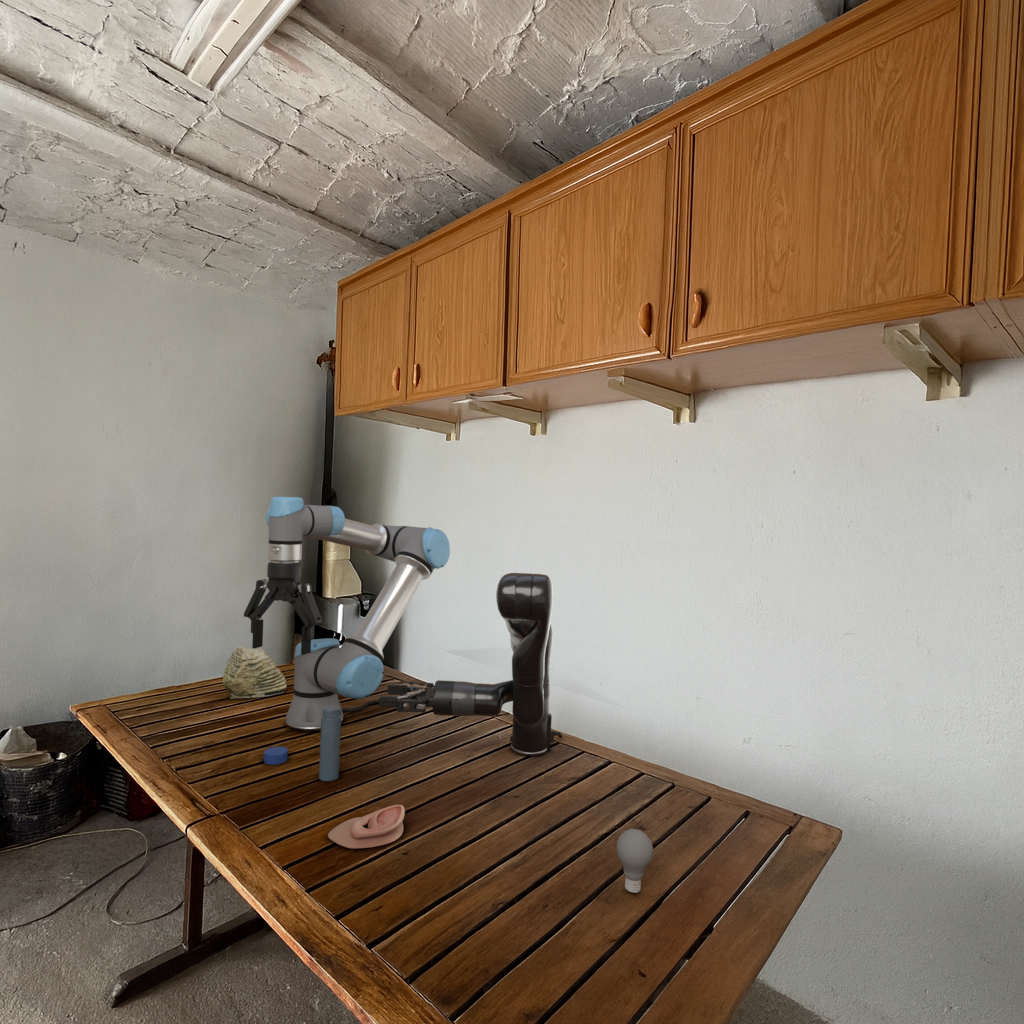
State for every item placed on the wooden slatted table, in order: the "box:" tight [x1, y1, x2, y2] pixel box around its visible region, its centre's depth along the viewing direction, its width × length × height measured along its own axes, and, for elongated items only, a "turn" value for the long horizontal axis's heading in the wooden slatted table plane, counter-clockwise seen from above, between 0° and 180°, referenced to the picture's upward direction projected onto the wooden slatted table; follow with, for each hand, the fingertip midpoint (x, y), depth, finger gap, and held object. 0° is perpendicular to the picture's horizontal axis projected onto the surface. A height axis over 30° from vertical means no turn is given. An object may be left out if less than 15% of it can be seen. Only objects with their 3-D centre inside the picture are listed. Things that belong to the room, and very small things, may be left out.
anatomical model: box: [327, 804, 406, 849], centre depth 120 cm, size 13×4×12 cm
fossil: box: [222, 646, 288, 699], centre depth 198 cm, size 9×18×15 cm, turn 132°
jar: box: [318, 705, 342, 782], centre depth 143 cm, size 4×4×16 cm
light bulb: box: [615, 828, 654, 894], centre depth 106 cm, size 6×6×10 cm
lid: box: [263, 746, 289, 766], centre depth 151 cm, size 5×5×2 cm
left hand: (281, 650), depth 151 cm, fingers open, 13 cm apart
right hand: (383, 695), depth 143 cm, fingers open, 8 cm apart
